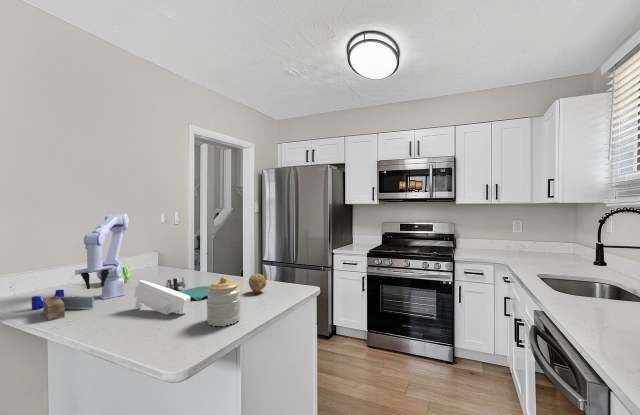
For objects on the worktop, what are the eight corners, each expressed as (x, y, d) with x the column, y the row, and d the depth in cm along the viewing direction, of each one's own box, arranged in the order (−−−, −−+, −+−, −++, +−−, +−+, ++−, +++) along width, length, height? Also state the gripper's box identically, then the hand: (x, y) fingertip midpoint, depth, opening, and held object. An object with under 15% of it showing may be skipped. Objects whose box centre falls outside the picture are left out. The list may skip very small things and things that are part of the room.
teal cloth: (170, 298, 151) (170, 293, 151) (216, 284, 178) (216, 280, 178) (197, 304, 142) (197, 299, 142) (242, 288, 168) (241, 283, 168)
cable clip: (56, 301, 148) (56, 289, 148) (64, 301, 147) (63, 289, 147) (29, 309, 136) (28, 296, 136) (37, 310, 136) (36, 297, 136)
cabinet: (58, 309, 136) (57, 295, 136) (64, 317, 126) (64, 303, 126) (43, 312, 133) (43, 298, 132) (48, 321, 122) (48, 306, 122)
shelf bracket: (142, 306, 138) (146, 278, 137) (188, 325, 130) (192, 295, 129) (130, 311, 133) (134, 281, 132) (177, 330, 124) (182, 299, 123)
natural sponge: (258, 289, 163) (258, 271, 163) (270, 291, 158) (269, 272, 158) (245, 293, 156) (245, 274, 156) (257, 296, 151) (256, 276, 151)
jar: (221, 330, 110) (221, 282, 110) (199, 323, 117) (198, 278, 117) (247, 318, 121) (247, 275, 121) (226, 312, 128) (225, 271, 128)
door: (62, 306, 138) (62, 296, 138) (95, 306, 137) (94, 296, 137) (58, 308, 136) (58, 297, 136) (92, 307, 136) (92, 297, 136)
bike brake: (189, 288, 165) (167, 289, 175) (188, 275, 166) (165, 277, 175) (166, 295, 153) (144, 296, 163) (165, 282, 154) (142, 283, 163)
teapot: (96, 288, 170) (95, 266, 170) (99, 283, 182) (99, 262, 182) (129, 284, 178) (129, 263, 178) (131, 279, 190) (130, 259, 190)
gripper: (76, 261, 132) (77, 292, 132) (115, 257, 143) (116, 285, 143) (73, 260, 137) (74, 289, 137) (111, 255, 148) (111, 283, 148)
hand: (95, 287), depth 141 cm, fingers open, 5 cm apart
